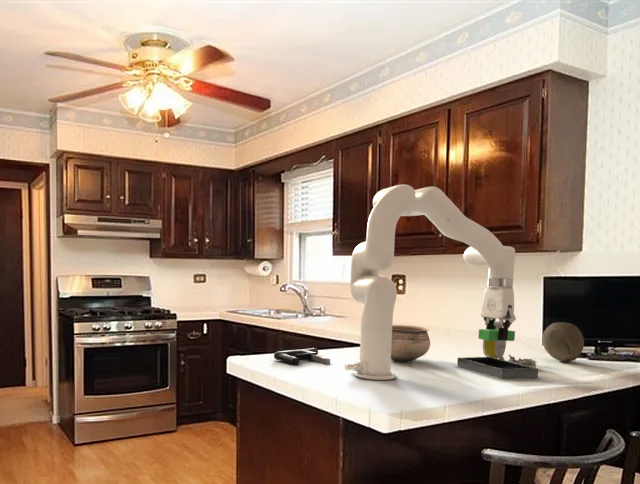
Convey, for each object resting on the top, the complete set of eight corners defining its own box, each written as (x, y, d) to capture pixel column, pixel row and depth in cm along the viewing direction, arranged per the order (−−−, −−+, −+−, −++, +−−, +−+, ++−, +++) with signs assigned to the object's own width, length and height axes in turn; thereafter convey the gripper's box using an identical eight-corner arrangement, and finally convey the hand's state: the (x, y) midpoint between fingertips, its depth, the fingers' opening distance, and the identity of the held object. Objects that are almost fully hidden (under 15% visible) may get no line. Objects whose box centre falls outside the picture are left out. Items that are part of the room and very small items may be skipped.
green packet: (488, 340, 175) (489, 330, 174) (478, 338, 179) (478, 329, 179) (514, 340, 177) (515, 331, 177) (503, 338, 182) (504, 329, 182)
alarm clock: (491, 358, 208) (493, 320, 207) (510, 361, 204) (512, 321, 203) (481, 362, 199) (483, 322, 198) (500, 365, 195) (503, 323, 194)
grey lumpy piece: (506, 365, 195) (507, 354, 195) (529, 366, 193) (530, 355, 193) (513, 370, 185) (514, 358, 184) (537, 372, 183) (538, 360, 182)
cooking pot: (400, 354, 215) (401, 323, 214) (443, 361, 200) (445, 328, 199) (360, 359, 199) (361, 326, 198) (405, 368, 184) (406, 332, 183)
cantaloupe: (589, 362, 205) (592, 323, 204) (572, 365, 197) (575, 325, 196) (551, 357, 216) (553, 320, 215) (533, 359, 208) (535, 321, 207)
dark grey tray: (501, 380, 167) (502, 369, 167) (457, 367, 188) (457, 357, 188) (537, 379, 170) (538, 368, 170) (490, 366, 191) (490, 356, 191)
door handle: (342, 355, 192) (311, 346, 205) (300, 360, 180) (270, 350, 193) (341, 364, 192) (310, 355, 205) (299, 370, 181) (269, 359, 194)
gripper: (473, 282, 184) (469, 335, 185) (509, 284, 168) (505, 342, 169) (491, 283, 186) (488, 335, 187) (529, 285, 170) (525, 342, 171)
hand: (496, 338), depth 178 cm, fingers closed on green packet, 5 cm apart
